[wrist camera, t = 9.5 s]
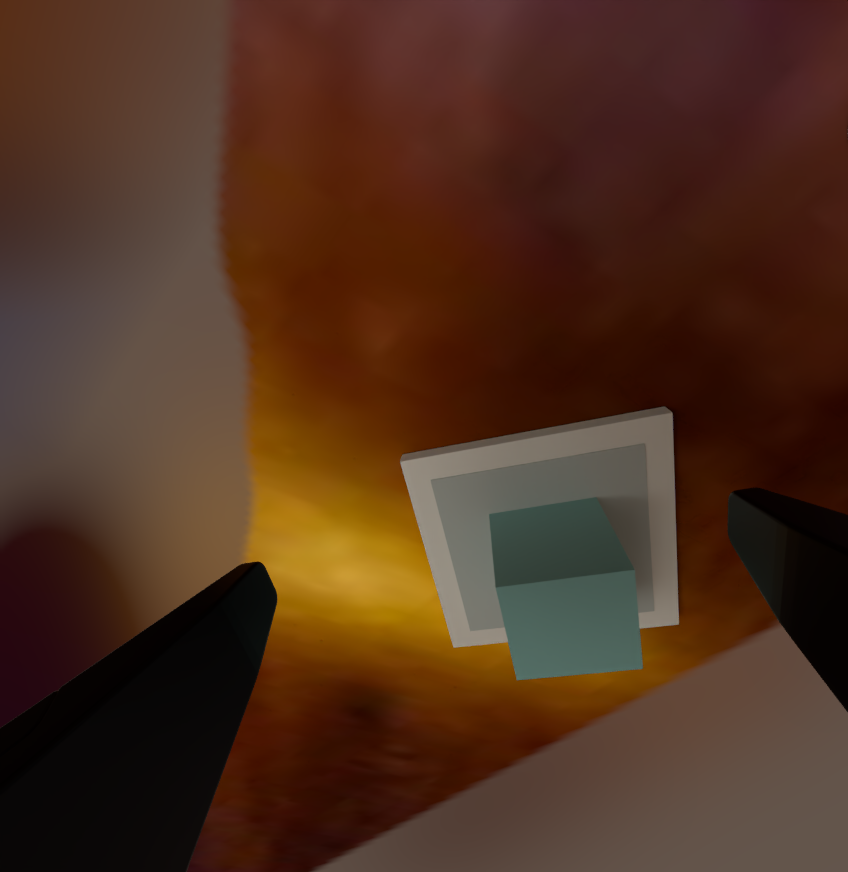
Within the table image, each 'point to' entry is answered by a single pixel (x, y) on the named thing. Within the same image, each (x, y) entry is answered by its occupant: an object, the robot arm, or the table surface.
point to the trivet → (542, 485)
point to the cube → (565, 591)
